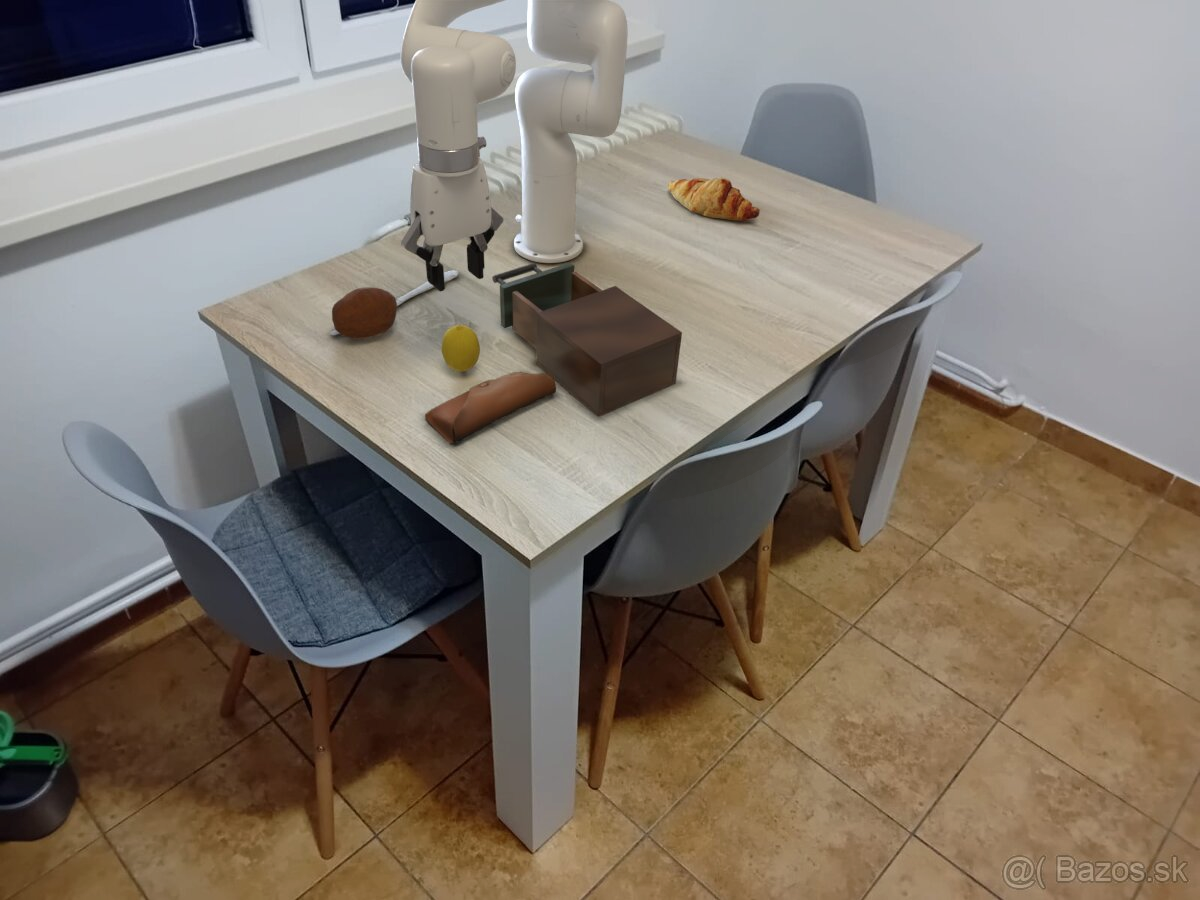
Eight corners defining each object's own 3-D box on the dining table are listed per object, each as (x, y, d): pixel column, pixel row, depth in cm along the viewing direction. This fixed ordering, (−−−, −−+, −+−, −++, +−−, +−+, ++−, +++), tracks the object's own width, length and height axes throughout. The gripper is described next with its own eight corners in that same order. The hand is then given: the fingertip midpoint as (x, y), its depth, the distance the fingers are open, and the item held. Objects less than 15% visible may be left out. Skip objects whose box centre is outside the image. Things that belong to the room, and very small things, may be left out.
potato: (321, 332, 141) (315, 291, 136) (378, 306, 148) (374, 266, 142) (354, 357, 138) (350, 316, 132) (411, 330, 144) (408, 290, 139)
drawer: (478, 307, 148) (477, 267, 143) (546, 284, 155) (546, 245, 150) (552, 369, 136) (553, 328, 131) (623, 342, 142) (626, 301, 138)
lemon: (474, 384, 133) (472, 338, 128) (438, 378, 134) (434, 332, 129) (485, 363, 138) (483, 318, 132) (450, 358, 138) (447, 312, 133)
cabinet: (536, 364, 138) (536, 313, 132) (612, 335, 145) (615, 285, 139) (598, 417, 129) (601, 364, 123) (675, 383, 136) (682, 332, 130)
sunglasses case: (519, 368, 136) (534, 346, 131) (545, 406, 135) (561, 385, 130) (419, 416, 126) (431, 394, 121) (447, 457, 125) (459, 437, 120)
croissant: (658, 213, 187) (650, 186, 180) (683, 178, 190) (676, 150, 183) (748, 243, 178) (744, 216, 171) (773, 206, 180) (770, 177, 173)
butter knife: (464, 274, 156) (452, 267, 158) (337, 338, 140) (325, 330, 142) (464, 277, 157) (452, 270, 158) (338, 341, 141) (325, 333, 142)
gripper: (490, 131, 121) (494, 253, 132) (372, 157, 112) (387, 286, 124) (522, 150, 116) (523, 275, 128) (401, 179, 108) (414, 310, 120)
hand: (456, 279), depth 126 cm, fingers open, 5 cm apart
